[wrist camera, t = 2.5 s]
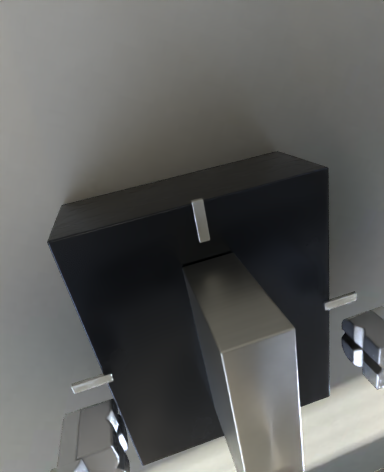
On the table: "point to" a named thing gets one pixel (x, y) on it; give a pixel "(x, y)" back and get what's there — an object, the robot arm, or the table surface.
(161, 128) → the table surface
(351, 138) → the table surface
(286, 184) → the rotary switch base
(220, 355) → the rotary switch knob
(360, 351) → the robot arm
